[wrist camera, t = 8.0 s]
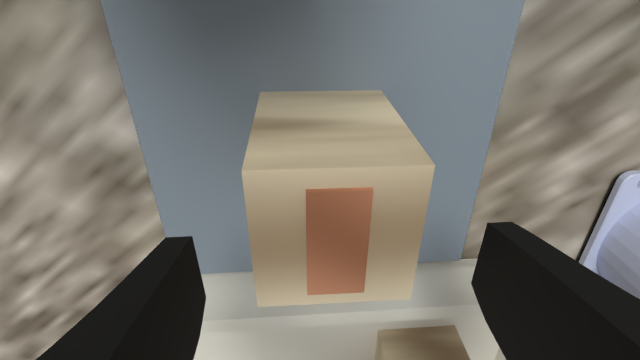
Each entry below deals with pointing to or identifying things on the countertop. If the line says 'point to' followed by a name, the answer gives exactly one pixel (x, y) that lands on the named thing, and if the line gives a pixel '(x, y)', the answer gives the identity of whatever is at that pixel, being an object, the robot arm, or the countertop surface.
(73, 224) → the countertop surface
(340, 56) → the slate pad
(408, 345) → the plain block
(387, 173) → the labelled block
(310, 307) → the parts tray
